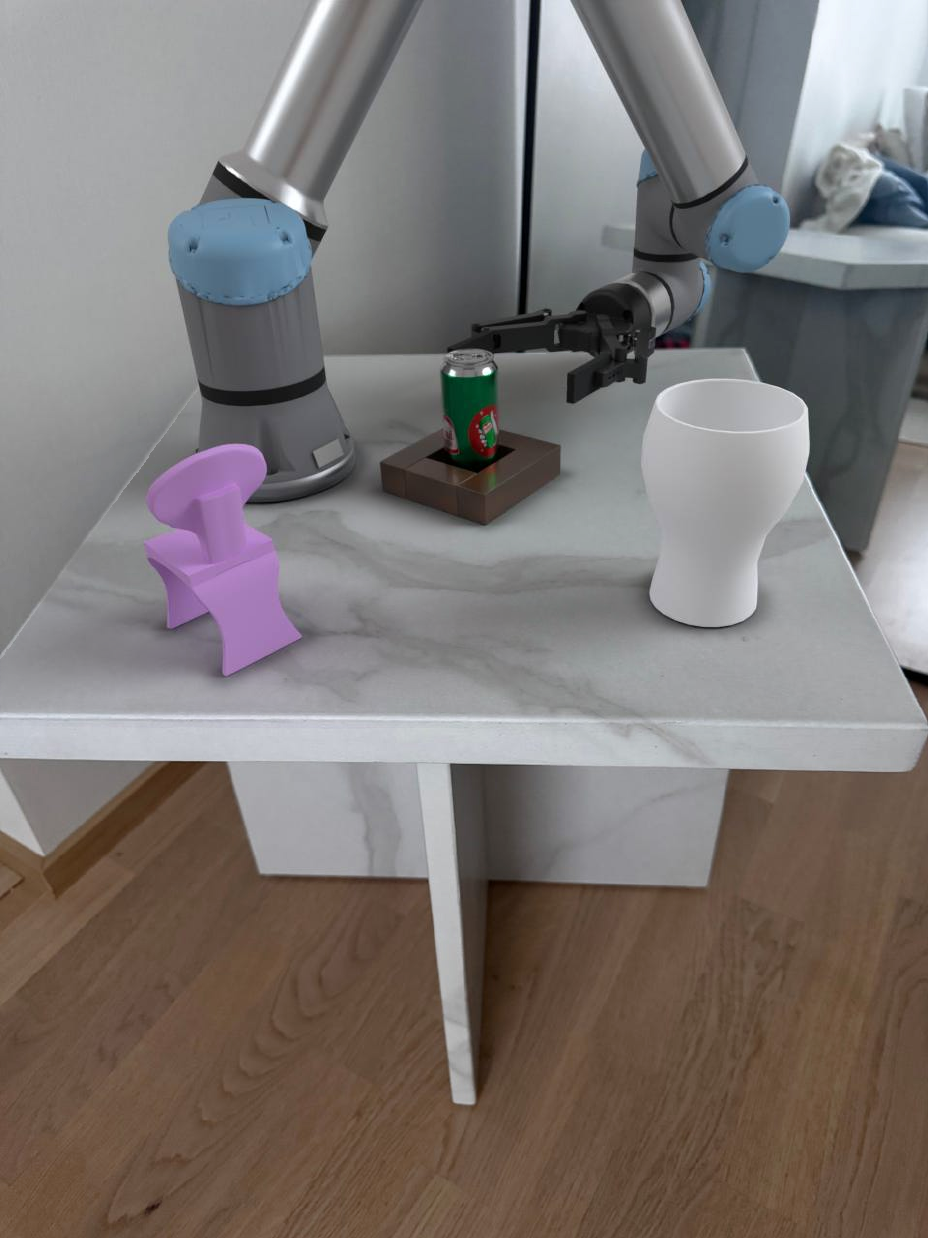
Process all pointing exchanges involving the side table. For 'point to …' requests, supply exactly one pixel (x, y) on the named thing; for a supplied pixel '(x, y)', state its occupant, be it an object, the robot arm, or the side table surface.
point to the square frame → (471, 476)
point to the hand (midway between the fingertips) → (507, 374)
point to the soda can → (470, 409)
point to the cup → (719, 491)
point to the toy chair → (219, 553)
